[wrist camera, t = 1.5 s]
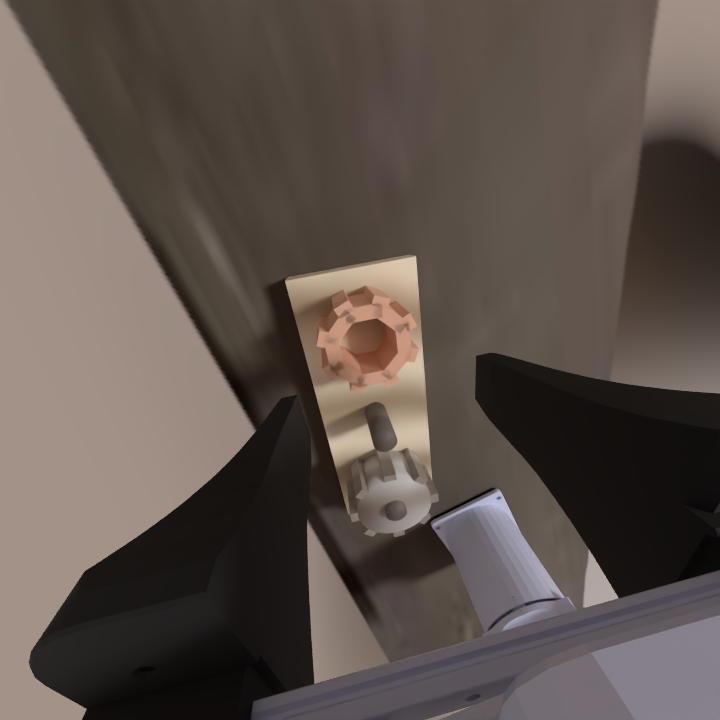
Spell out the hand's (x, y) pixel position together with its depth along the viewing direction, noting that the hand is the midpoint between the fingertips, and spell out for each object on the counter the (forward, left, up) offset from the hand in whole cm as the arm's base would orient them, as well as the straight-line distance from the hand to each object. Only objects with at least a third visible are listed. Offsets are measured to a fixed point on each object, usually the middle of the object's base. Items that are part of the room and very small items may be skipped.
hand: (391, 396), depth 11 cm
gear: (0, 0, -8) cm, 8 cm away
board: (-6, +2, -10) cm, 12 cm away
